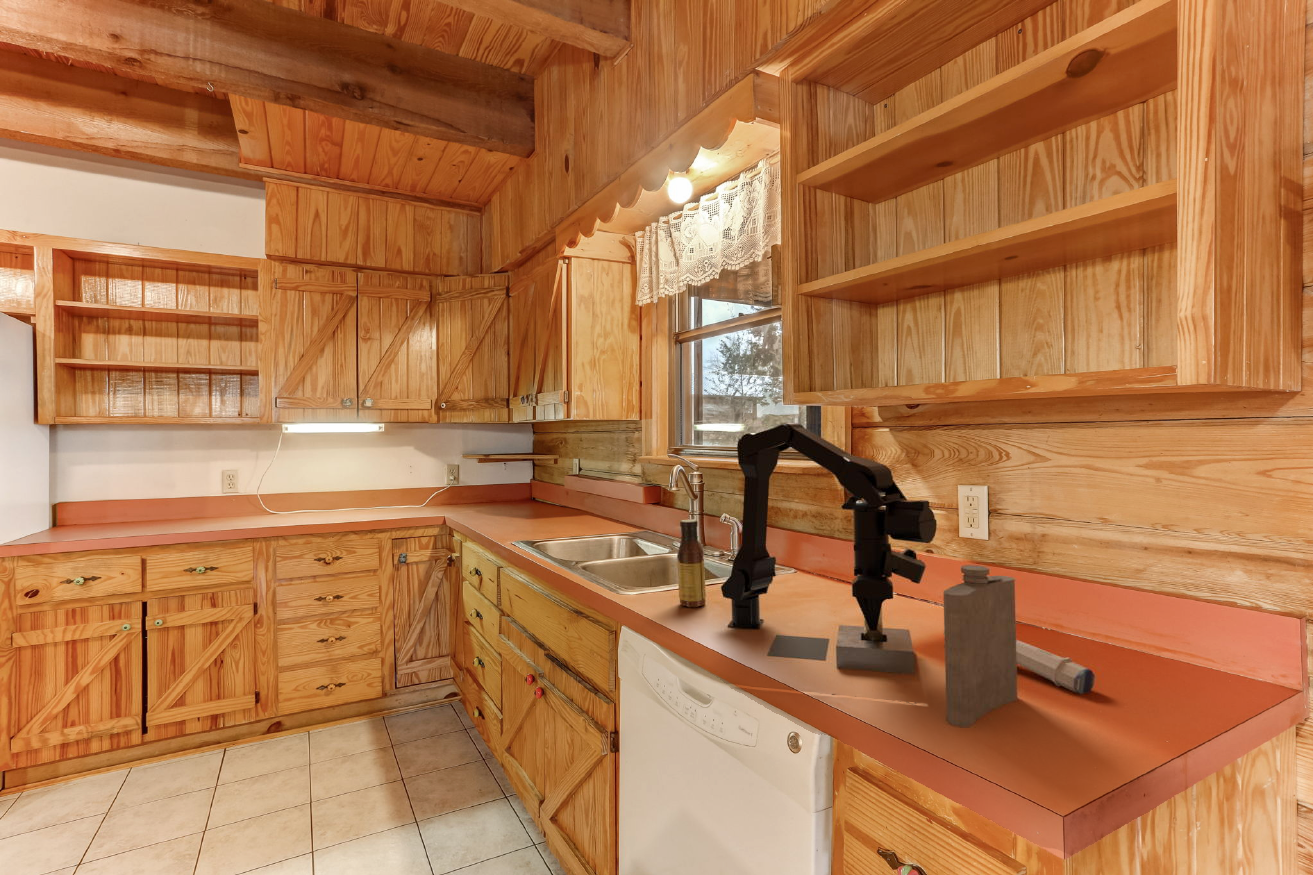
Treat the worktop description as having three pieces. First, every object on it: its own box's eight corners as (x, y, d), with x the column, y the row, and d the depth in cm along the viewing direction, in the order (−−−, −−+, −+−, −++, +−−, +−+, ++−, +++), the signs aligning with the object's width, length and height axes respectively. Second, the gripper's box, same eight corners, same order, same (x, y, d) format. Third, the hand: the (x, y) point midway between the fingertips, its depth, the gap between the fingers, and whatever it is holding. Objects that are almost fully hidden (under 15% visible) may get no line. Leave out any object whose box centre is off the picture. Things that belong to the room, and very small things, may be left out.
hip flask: (964, 729, 84) (961, 577, 84) (935, 718, 87) (932, 572, 87) (1021, 697, 94) (1018, 560, 93) (993, 689, 97) (990, 557, 97)
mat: (776, 636, 124) (776, 634, 124) (829, 640, 121) (829, 638, 121) (766, 657, 113) (766, 655, 113) (825, 662, 110) (825, 660, 110)
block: (839, 646, 118) (839, 624, 118) (909, 652, 114) (909, 629, 114) (836, 669, 106) (836, 645, 106) (914, 676, 102) (913, 651, 102)
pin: (864, 639, 112) (863, 587, 112) (882, 640, 111) (881, 588, 111) (864, 644, 109) (863, 591, 109) (883, 645, 108) (881, 592, 108)
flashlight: (1076, 672, 93) (939, 608, 116) (1071, 714, 94) (936, 643, 117) (1099, 666, 95) (960, 604, 118) (1094, 708, 96) (957, 638, 119)
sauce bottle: (692, 600, 154) (690, 517, 154) (711, 604, 149) (709, 519, 149) (672, 605, 149) (670, 520, 149) (692, 610, 145) (689, 522, 145)
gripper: (926, 547, 99) (928, 648, 99) (917, 529, 116) (919, 615, 116) (851, 545, 102) (853, 643, 102) (853, 528, 120) (855, 611, 120)
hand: (873, 627), depth 110 cm, fingers closed on pin, 3 cm apart
